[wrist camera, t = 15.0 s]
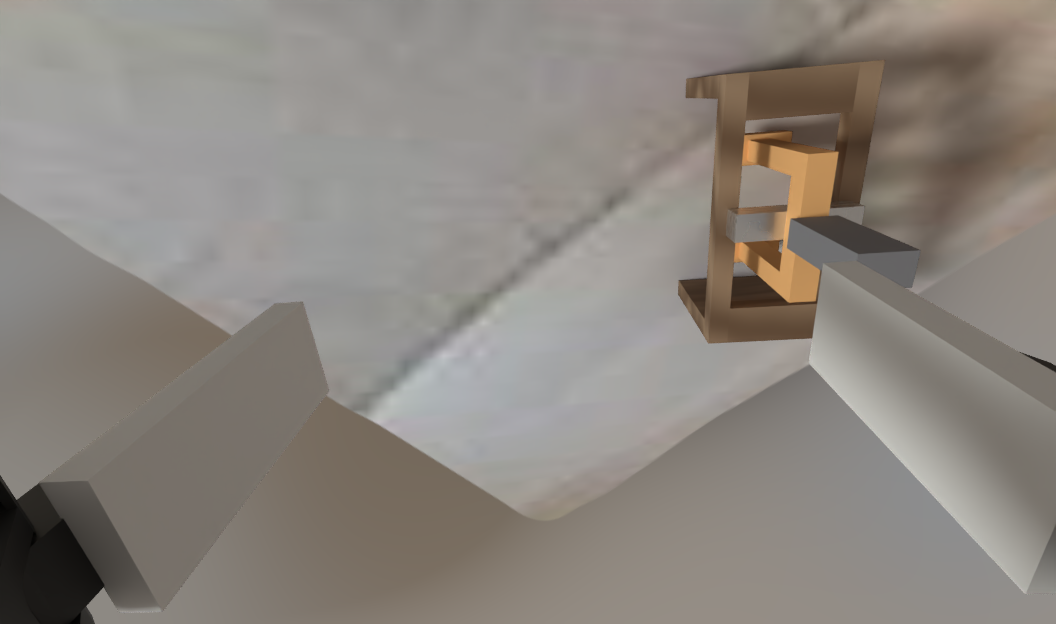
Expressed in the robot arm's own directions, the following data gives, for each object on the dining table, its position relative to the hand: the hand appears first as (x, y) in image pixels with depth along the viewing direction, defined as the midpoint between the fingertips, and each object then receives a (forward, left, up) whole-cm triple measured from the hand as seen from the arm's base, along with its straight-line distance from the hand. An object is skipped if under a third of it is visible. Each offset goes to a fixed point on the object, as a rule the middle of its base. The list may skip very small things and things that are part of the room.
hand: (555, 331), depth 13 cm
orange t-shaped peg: (+4, +17, -34) cm, 38 cm away
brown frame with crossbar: (+4, +17, -37) cm, 40 cm away
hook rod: (+4, +17, -26) cm, 31 cm away
